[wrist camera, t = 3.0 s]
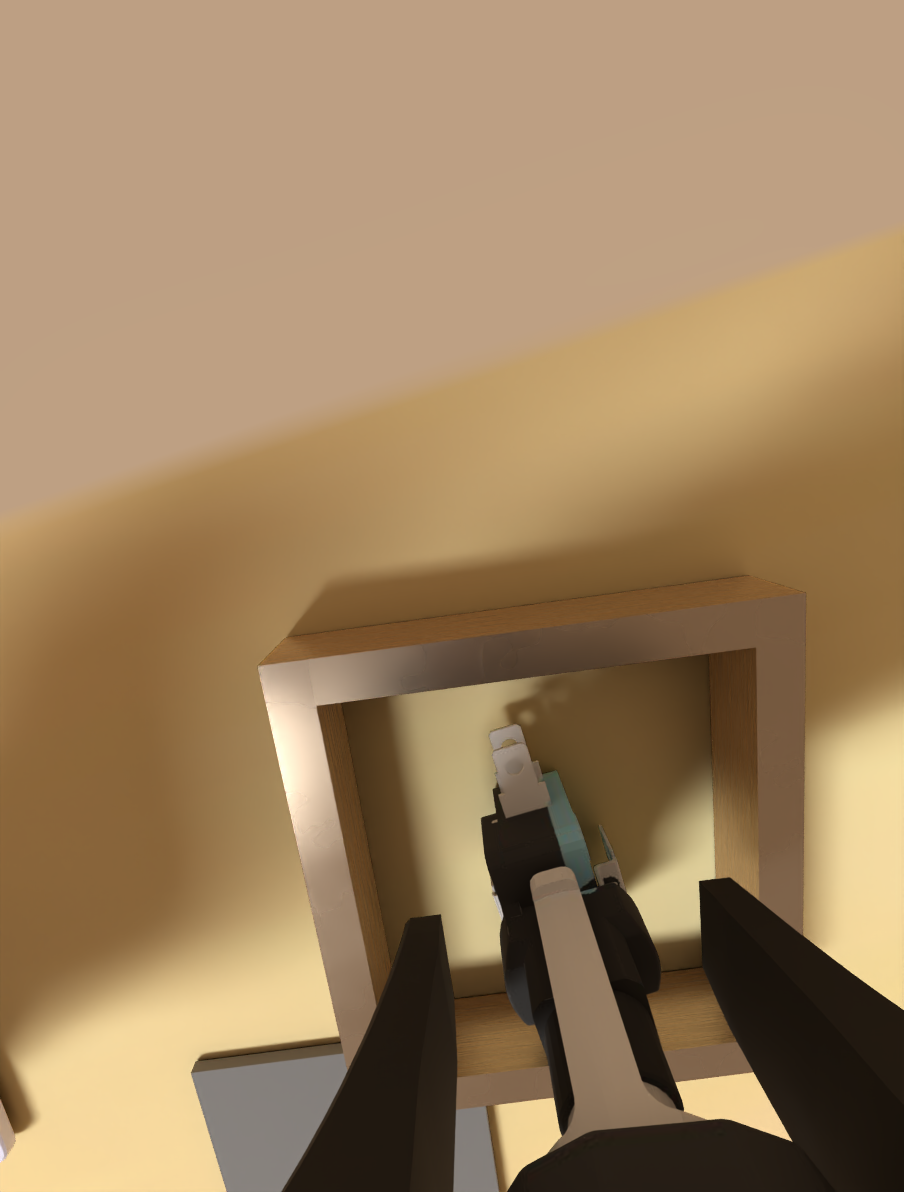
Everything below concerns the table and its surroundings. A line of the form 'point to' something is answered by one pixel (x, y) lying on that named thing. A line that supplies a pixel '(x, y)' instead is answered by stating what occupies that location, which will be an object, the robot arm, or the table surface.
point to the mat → (301, 1117)
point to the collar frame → (529, 649)
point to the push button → (602, 1012)
